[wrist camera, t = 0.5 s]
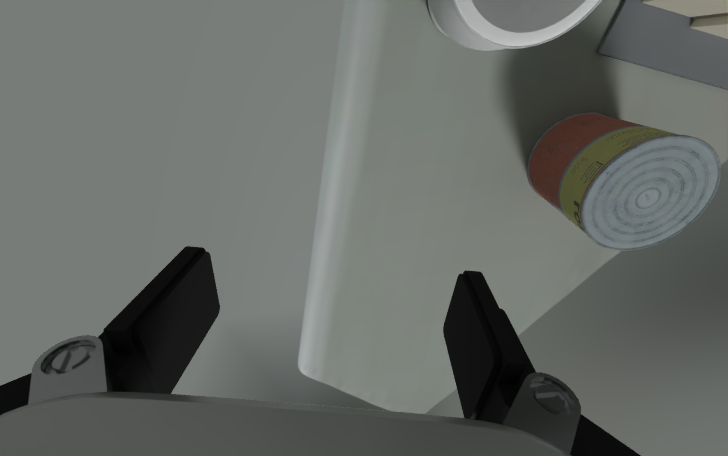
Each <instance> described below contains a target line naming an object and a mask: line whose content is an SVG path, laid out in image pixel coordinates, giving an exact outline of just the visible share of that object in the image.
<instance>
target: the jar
mask: <svg viewBox="0 0 728 456" xmlns="http://www.w3.org/2000/svg"><path fill="white" fill-rule="evenodd" d="M601 1H602V0H428V7H429V12H430V15H431V18H432V20H433V22H434V24H435V25H436V27H437V28H438V29H439V30H440V31H441V32H442V33H443V34H444V35H446V36H448V37H449V38H451V39H452V40H454V41H455V42H457V43H459V44H460V45H463V46H465V47H468V48H471V49H475V50H483V51H492V50H501V49H506V48H510V49H517V48H526V47H531V46H536V45H540V44H543V43H546V42H548V41H551V40H553V39H555V38H557V37H559V36H561V35H563V34H565V33H566V32H568V31H569V30H571V29H572V28H574V27H575V26H576V25H578V24H579V23H580V22H581V21H583V20H584V19H585V18H586V17H587V16H588V15H589V14H590V13H591V12H592V11H593V10H594V9H595V8H596V7H597V6H598V5H599V4H600V2H601Z"/></svg>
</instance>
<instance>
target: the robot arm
mask: <svg viewBox="0 0 728 456" xmlns="http://www.w3.org/2000/svg"><path fill="white" fill-rule="evenodd" d="M219 310H220V305H219V299H218V294H217V289H216V284H215V279H214V273H213V268H212V263H211V257H210V254H209V252H206V251H205V249H204V248H199V247H189V246H188V247H185V248H184V249H183V250H182V251H181V252H180V253H179V254H178V255H177V256H176V257H175V258H174V259H173V260H172V261H171V262H170V263H169V264H168V265H167V266H166V267H165V268H164V269H163V270H162V271H161V272H160V273H159V274H158V275H157V276H156V277H155V278H154V279H153V280H152V281H151V282H150V283H149V284H148V285H147V286H146V287H145V288H144V289H143V290H142V291H141V292H140V293H139V294H138V295H137V296H136V297H135V298H134V299H133V300H132V301H131V302H130V303H129V304H128V305H127V306H126V307H125V308H124V309H123V310H122V312H120V313H119V314H118V316H116V318H114V319H113V320H112V321H111V322H110V323H109V324H108V325H107V326H106V328H104V332H103V333H102V334H101V335H100V336H99V337H98V338H97V337H96V336H89V335H86V336H78V337H74V338H70V339H68V340H65V341H63V342H60V343H58V344H56V345H55V346H53V347H51V348H50V349H48V350H47V351H46V352H44V353H43V354H42V355H41V356H40V357H39V358H38V359H37V361H36V362H35V364H34V366H33V369H32V373H31V374H28V375H26V376H23V377H21V378H18V379H16V380H13V381H11V382H9V383H6V384H4V385H1V386H0V456H640V455H639V454H637V453H636V452H635V451H633V450H632V449H630V448H629V447H627V446H626V445H625V444H623V443H622V442H620V441H619V440H617V439H616V438H614V437H613V436H612V435H610V434H609V433H607V432H606V431H604V430H603V429H602V428H600V427H599V426H597V425H596V424H594V423H593V422H591V421H590V420H589V419H587V418H586V417H584V416H583V415H581V406H580V403H579V400H578V398H577V397H576V395H575V394H574V392H573V391H572V390H571V389H570V388H569V387H568V386H567V385H566V384H565V383H563V382H562V381H560V380H559V379H558V378H555V377H553V376H551V375H549V374H545V373H541V372H540V373H539V372H536V371H535V369H534V368H533V365H532V364H531V362H530V360H529V358H528V356H527V354H526V352H525V350H524V348H523V346H522V344H521V342H520V340H519V338H518V336H517V334H516V332H515V330H514V328H513V326H512V324H511V322H510V320H509V319H508V317H507V315H506V313H505V311H504V310H502V309H500V308H499V306H498V304H497V302H496V300H495V298H494V296H493V294H492V292H491V290H490V288H489V286H488V284H487V282H486V280H485V278H484V276H483V274H482V273H481V272H477V271H464V273H463V274H459V275H458V278H457V281H456V285H455V288H454V292H453V295H452V299H451V302H450V305H449V309H448V312H447V316H446V319H445V323H444V328H443V332H444V337H445V341H446V345H447V349H448V354H449V358H450V362H451V366H452V370H453V374H454V378H455V382H456V386H457V389H458V394H459V398H460V402H461V406H462V410H463V414H464V417H465V418H456V417H447V416H437V415H426V414H417V413H405V412H393V411H382V410H369V409H357V408H346V407H333V406H322V405H308V404H297V403H284V402H270V401H258V400H245V399H232V398H218V397H205V396H190V395H176V394H171V392H172V390H173V389H174V387H175V386H176V384H177V382H178V381H179V379H180V377H181V376H182V374H183V372H184V371H185V369H186V367H187V366H188V364H189V363H190V361H191V359H192V357H193V356H194V354H195V352H196V351H197V349H198V348H199V346H200V344H201V342H202V341H203V339H204V337H205V336H206V334H207V333H208V331H209V329H210V328H211V326H212V324H213V323H214V321H215V319H216V318H217V316H218V314H219Z"/></svg>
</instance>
